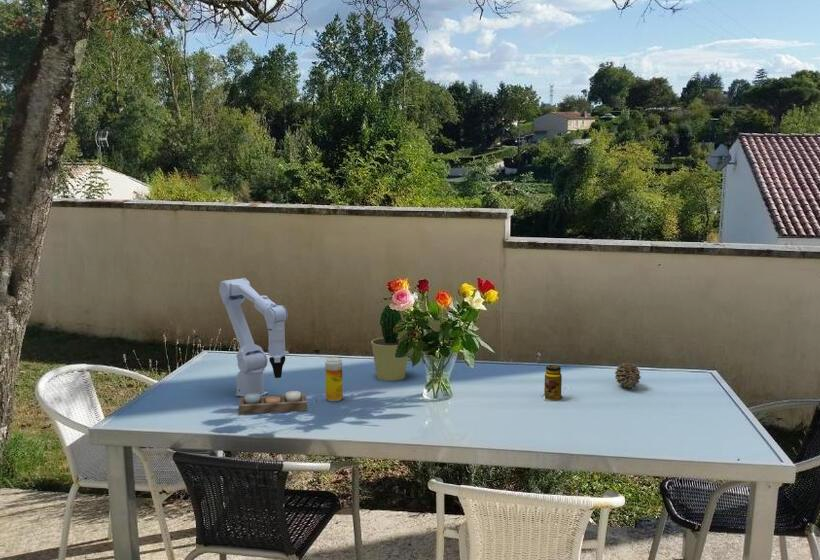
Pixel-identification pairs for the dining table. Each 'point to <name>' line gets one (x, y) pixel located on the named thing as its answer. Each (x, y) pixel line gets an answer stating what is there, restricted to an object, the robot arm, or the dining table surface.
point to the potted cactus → (388, 348)
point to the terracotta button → (273, 399)
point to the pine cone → (627, 375)
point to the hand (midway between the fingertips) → (277, 377)
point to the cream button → (293, 396)
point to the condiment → (553, 383)
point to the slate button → (252, 398)
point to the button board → (272, 405)
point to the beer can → (334, 379)
